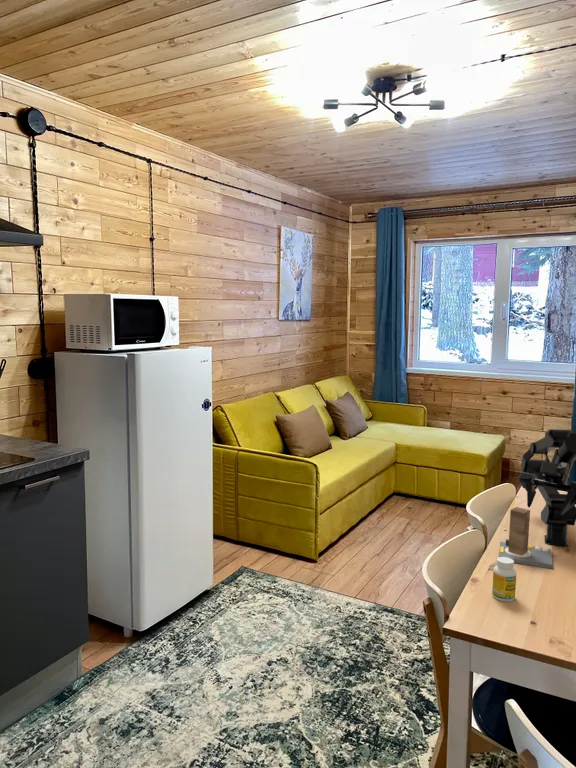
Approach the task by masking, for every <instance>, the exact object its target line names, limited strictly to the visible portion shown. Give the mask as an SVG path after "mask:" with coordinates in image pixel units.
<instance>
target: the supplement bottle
mask: <svg viewBox="0 0 576 768" xmlns="http://www.w3.org/2000/svg"><path fill="white" fill-rule="evenodd" d="M514 566H515V563H514V560H512V559H511V558H507V557H499V556H498V557H496V565H494V567H493V571H492V587H491V588H492V591H491V594H492V596H493V598H494V599H496V600H498V601H500V602H505V603H508V602H509V603H510V602H512V601H514V600H516V599H515V598H516V586H517V570H516V569H515V568H514Z"/></svg>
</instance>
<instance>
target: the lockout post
mask: <svg viewBox="0 0 576 768" xmlns="http://www.w3.org/2000/svg"><path fill="white" fill-rule="evenodd" d="M530 518H531V509H529V508H528V509H527V508H523V507H520V506H515V507H513V508H511V509H510V515H509V532H508V533H509V534H508V539H509V546H508V552H511V553H515V554H518V555H524V554H525V553H526V552H528V546H529V536H530V535H529V533H530V520H531V519H530Z"/></svg>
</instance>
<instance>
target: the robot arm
mask: <svg viewBox="0 0 576 768" xmlns="http://www.w3.org/2000/svg"><path fill="white" fill-rule="evenodd" d="M553 450H555V451H554V453H553V455H552V456H553V457H552V459H551V460H550V459H549V456H548V453H549V452H552V451H553ZM535 455H544V456H545V458H544V459H532V458H533V457H534V456H535ZM575 461H576V432H572V430H571V429H559V428H558V429H554V428H553V429H552V428H550V429H547V431H546V432H545V433H544V437H542V438H540V439H539V440H536V441H533V442H531V443H530V445H529V449H528V450H527V451H526V452H525V453H524V454H523V455H522V458H521V462H520V472H521V473H520V474H519V476H518V480H519V483H520V485H521V487H522V488H523V489H525V491H526V497H527V498H526V499H527V505H526V506H527V508H528V509H529V508H530V507H531V506H532V504H533V501H534V499H535V497H536V494H537V491H536V490H538V491H539V494H541V496H542V497H543V498H542V499H543V500H544V502H545V505H544V507H543V508H542V510H541V511H540V520H541V521H542V522H543V523H544V525H546V534H545V535H544V536H543V538H544V544H547V545H555V546H560V547H567V548H568V547H569V540H568V526H573V527H574V526H575V525H576V481H571V482H570V485H569V484H567V482H568V480H570V477H571V476H570V473H571V469H572V467H573V464H574V462H575ZM560 491H562V492H565V493H560Z"/></svg>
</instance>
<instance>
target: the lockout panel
mask: <svg viewBox="0 0 576 768" xmlns="http://www.w3.org/2000/svg"><path fill="white" fill-rule="evenodd" d="M508 546H509V538H506V539H505V541H501V540H500V542H499V551H498V557H507V558H511V559H512V560H514V564H519V563H520V565H525V564H526V565H527V566H532V567H539V568H545V569H552V570H553V558H552V556H553V555H552V549H551V548H548V547H540V546H538V545H537V546H534V545H532V544H530V545H529V544H528V552H526V553H525V554H524V555H518V554H515V553H511V552H508Z"/></svg>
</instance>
